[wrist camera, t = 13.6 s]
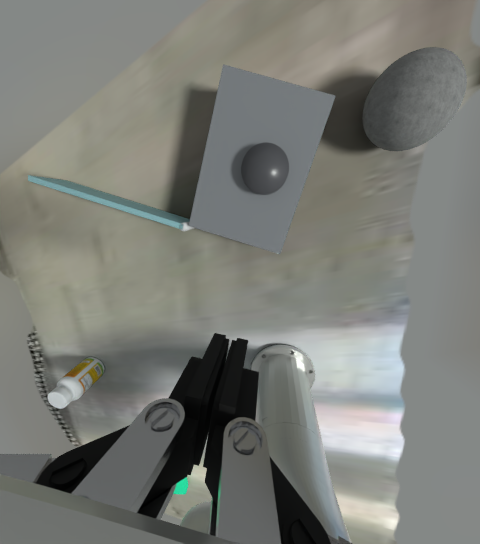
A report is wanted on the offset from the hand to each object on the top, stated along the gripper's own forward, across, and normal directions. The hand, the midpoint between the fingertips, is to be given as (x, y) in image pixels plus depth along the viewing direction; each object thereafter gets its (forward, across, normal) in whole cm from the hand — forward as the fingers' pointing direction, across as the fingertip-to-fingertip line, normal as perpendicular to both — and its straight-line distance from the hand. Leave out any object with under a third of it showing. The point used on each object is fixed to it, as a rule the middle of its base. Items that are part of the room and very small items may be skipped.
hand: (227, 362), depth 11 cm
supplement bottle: (+31, +33, +33) cm, 56 cm away
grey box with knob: (+30, +3, -13) cm, 33 cm away
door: (+30, +24, -5) cm, 38 cm away
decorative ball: (+30, -15, -23) cm, 41 cm away
